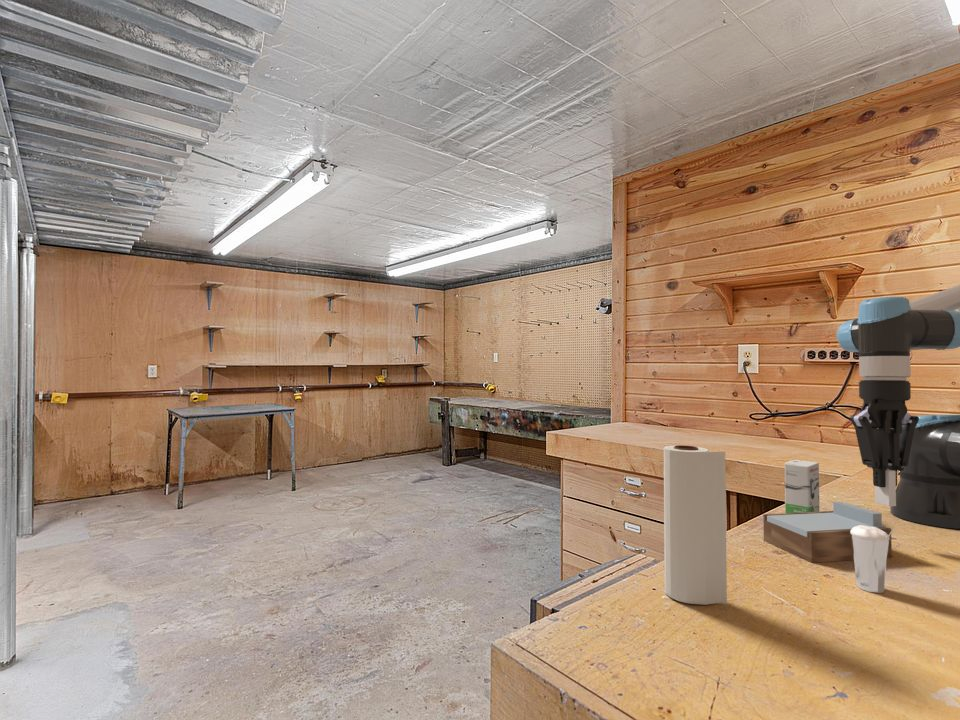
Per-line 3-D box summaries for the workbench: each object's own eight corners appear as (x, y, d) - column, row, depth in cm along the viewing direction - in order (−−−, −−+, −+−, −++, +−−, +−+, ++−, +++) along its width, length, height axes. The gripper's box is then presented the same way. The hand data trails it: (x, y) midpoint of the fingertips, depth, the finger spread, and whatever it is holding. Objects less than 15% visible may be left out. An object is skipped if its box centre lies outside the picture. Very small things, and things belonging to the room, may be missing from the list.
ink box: (809, 520, 106) (808, 466, 106) (783, 515, 110) (783, 463, 110) (820, 512, 112) (819, 461, 112) (795, 508, 115) (795, 458, 116)
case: (835, 536, 95) (835, 510, 95) (891, 557, 84) (891, 528, 85) (763, 540, 93) (763, 514, 93) (811, 562, 82) (811, 533, 82)
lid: (839, 517, 95) (839, 500, 95) (886, 532, 85) (885, 514, 86) (766, 520, 92) (766, 504, 92) (806, 537, 83) (806, 518, 83)
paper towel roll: (655, 590, 71) (654, 445, 72) (687, 583, 73) (685, 443, 74) (693, 613, 65) (692, 452, 65) (727, 605, 67) (725, 450, 67)
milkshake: (888, 600, 68) (886, 529, 69) (845, 585, 73) (843, 519, 73) (903, 593, 70) (901, 524, 71) (860, 579, 75) (859, 515, 75)
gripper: (893, 379, 96) (894, 498, 96) (836, 378, 94) (837, 500, 94) (934, 379, 89) (935, 508, 88) (873, 379, 87) (875, 511, 86)
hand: (885, 504), depth 91 cm, fingers closed
